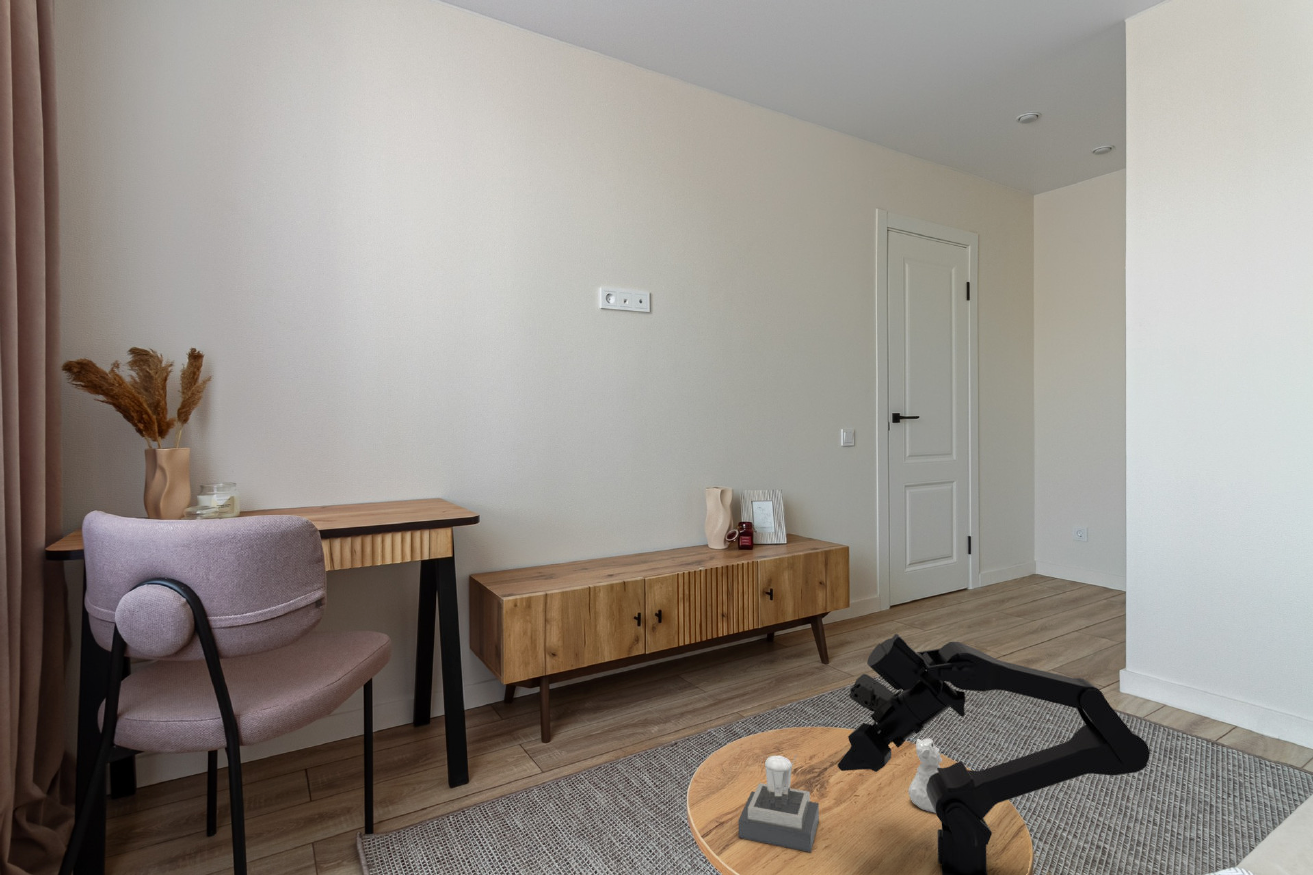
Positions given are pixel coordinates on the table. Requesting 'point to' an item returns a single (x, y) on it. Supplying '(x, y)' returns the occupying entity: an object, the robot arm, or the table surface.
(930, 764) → the seated beast figurine
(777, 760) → the milkshake
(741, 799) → the table surface
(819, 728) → the table surface
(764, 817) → the grey open rectangular box
